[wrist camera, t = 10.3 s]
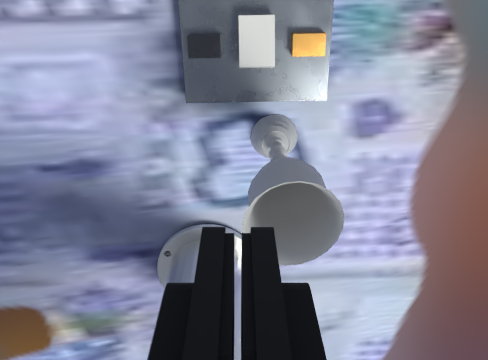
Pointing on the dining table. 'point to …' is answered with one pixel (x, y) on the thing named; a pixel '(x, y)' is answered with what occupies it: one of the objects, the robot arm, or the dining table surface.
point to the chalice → (290, 196)
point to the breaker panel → (227, 51)
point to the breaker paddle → (256, 41)
